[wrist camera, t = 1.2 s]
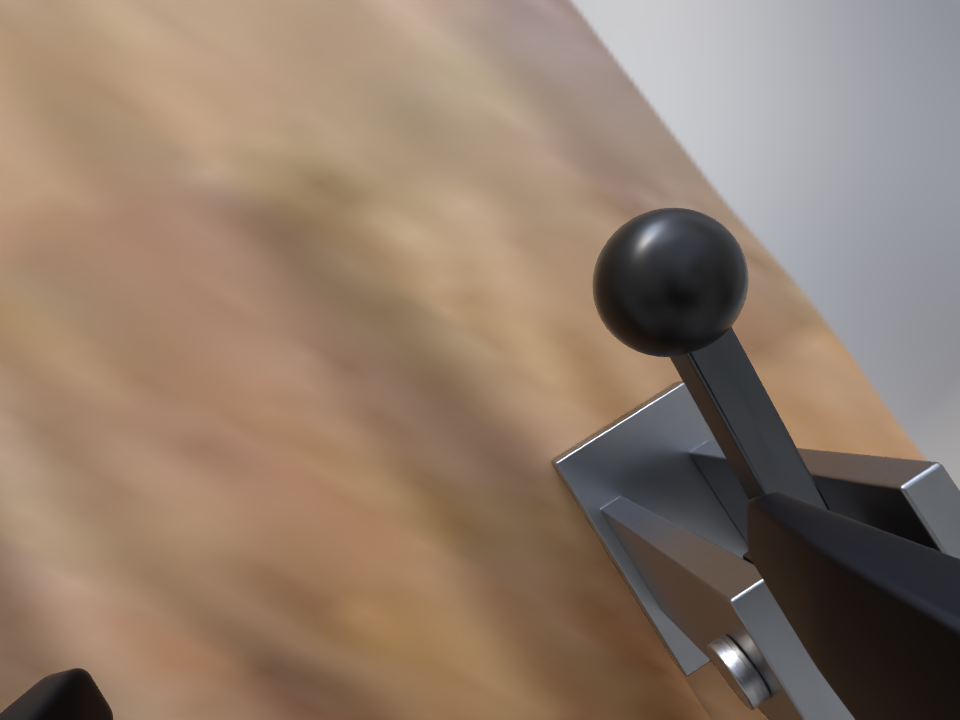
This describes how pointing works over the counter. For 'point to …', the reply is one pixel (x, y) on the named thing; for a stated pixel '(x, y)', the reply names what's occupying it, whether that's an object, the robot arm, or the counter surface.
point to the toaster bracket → (732, 542)
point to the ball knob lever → (700, 337)
